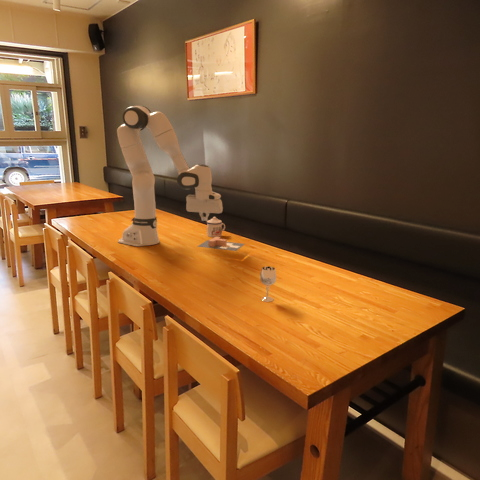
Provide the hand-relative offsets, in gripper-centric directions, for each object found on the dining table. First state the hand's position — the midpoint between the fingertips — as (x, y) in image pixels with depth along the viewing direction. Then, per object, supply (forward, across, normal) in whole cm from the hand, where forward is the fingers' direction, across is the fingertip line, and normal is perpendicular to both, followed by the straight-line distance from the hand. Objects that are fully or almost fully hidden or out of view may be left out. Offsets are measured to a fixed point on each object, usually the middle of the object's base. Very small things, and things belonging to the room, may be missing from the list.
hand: (204, 220), depth 213 cm
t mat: (+14, +10, 0) cm, 17 cm away
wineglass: (+14, +52, -61) cm, 81 cm away
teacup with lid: (+14, -1, +20) cm, 24 cm away
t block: (+13, +8, 0) cm, 15 cm away
